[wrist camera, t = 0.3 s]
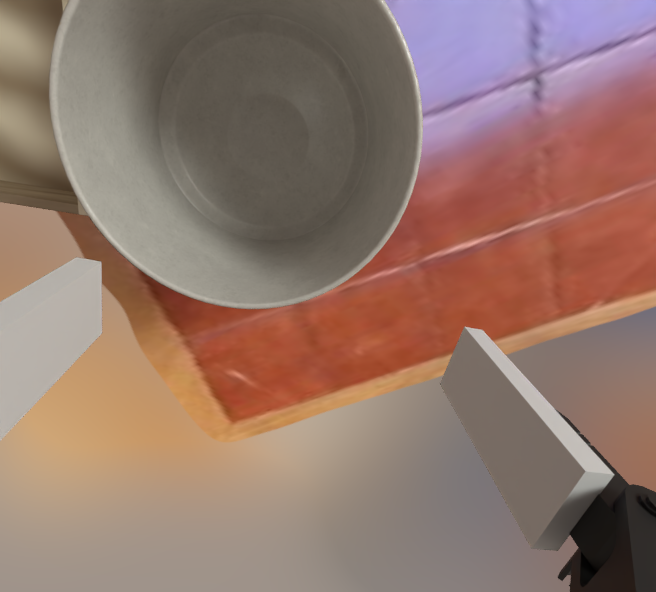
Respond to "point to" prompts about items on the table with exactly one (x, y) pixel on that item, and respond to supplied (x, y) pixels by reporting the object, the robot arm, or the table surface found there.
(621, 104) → the table surface
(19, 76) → the crate
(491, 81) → the table surface
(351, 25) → the planter
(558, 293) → the table surface
